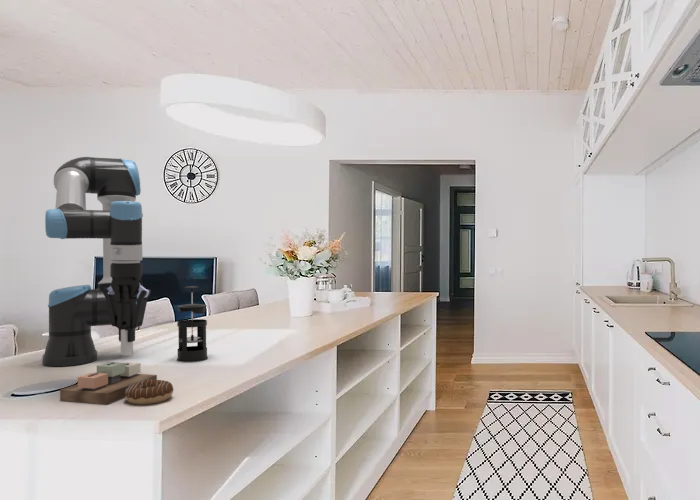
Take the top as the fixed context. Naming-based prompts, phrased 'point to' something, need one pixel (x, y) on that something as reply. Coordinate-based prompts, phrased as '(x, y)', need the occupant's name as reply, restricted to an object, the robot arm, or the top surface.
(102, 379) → the terracotta key
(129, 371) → the cream key
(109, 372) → the sage key
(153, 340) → the top surface
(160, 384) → the donut
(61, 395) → the keypad
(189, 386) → the top surface
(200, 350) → the french press
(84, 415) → the top surface
